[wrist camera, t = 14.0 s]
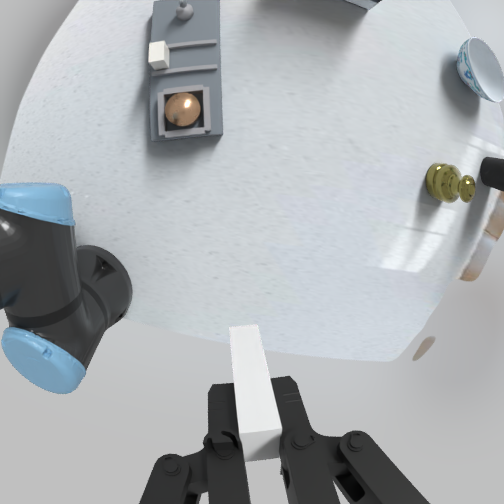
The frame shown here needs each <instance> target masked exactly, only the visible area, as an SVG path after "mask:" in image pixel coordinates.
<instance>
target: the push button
mask: <svg viewBox="0 0 504 504" xmlns="http://www.w3.org/2000/svg"><path fill="white" fill-rule="evenodd" d="M200 114H201V106H200V104H199V101H198V100H197V98H196V97H195V96H194V95H192V94H190V93H185V92H183V93H178V94H175V95H174V96H172V97H171V98H170V99H169V100H168V102H167V103H166V106H165V115H166V117H167V119H168V120H169V121H170V122H171V123H173V124H175V125H176V126H179V127H188V126H191V125H193V124H194V123H195V122H196V121H197V120H198V119H199V117H200Z"/></svg>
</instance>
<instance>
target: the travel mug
mask: <svg viewBox="0 0 504 504" xmlns="http://www.w3.org/2000/svg"><path fill="white" fill-rule="evenodd" d="M481 178H482V181H483V183H484V184H485V185H487V186H490V187H492V188H495V189H498V190H501V191H504V159H499V158H492V157H486V158H484V159H483V161H482V164H481Z"/></svg>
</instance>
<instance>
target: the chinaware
mask: <svg viewBox="0 0 504 504" xmlns="http://www.w3.org/2000/svg"><path fill="white" fill-rule="evenodd" d="M457 71H458V73H459V76H460V77H461V79H462V80H463V82H464V83H465V84H467V85H468V86H469V87H470V88H471V89H472V90H473V91H474V92H475V93H476V94H478V95H479V96H481V97H482V98H484V99H486V100H489V101H492V102H496V103H498V102H501V101H502V100H503V98H504V76H503V73H502V69H501V67H500V64H499V62H498V60H497V58H496V56H495V55H494V53H493V51H492V50H491V49H490V47H489V46H488V45H487V44H486V43H485V42H484V41H483V40H481V39H480V38H477V37H472V38H470V39H468V40H467V41H465V42H464V43H463V45H462V46H461V48H460V50H459V54H458V60H457Z"/></svg>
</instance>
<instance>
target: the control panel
mask: <svg viewBox="0 0 504 504" xmlns="http://www.w3.org/2000/svg"><path fill="white" fill-rule="evenodd" d="M159 41H165V43H166V45H167V47H168V49H169V68H168V69H161V70H154V68H153V67H152V66H151V65H150V128H151V141H154V142H158V141H165V140H173V139H182V138H191V137H202V136H215V135H223V118H222V91H221V55H220V0H187V6H186V7H185V8H181V7H180V4H179V0H159V1H154V5H153V15H152V28H151V43H153V42H159ZM183 92H185V93H190V94H192V95H194V96H195V97H196V98H197V100H198V101H199V104H200V106H201V114H200V117H199V119H198V120H197V121H196V122H195V123H194V124H193V125H191V126H188V127H179V126H176V125H175V124H173V123H171V122H170V121H169V120H168V119H167V117H166V115H165V106H166V103H167V102H168V100H169V99H170V98H171V97H172V96H174V95H175V94H178V93H183Z"/></svg>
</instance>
